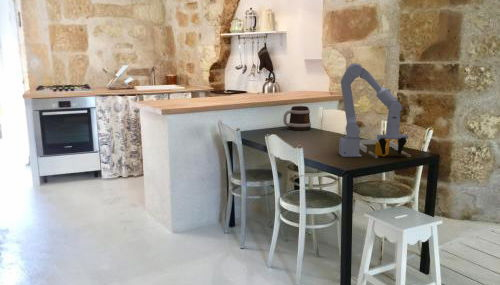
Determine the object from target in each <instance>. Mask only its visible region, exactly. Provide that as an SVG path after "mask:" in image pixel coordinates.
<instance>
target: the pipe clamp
mask: <svg viewBox="0 0 500 285" xmlns="http://www.w3.org/2000/svg"><path fill="white" fill-rule="evenodd" d="M385 140H386V141H387V143H386V148H385V155H384V154H382V149H381V146H380V143H379V142H376V144H375V149H374V150H375V151H374V152H375V153H374V154H376V155H378V157H385V156H387V155H389V152H390V146H389V141H391V139H385Z"/></svg>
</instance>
